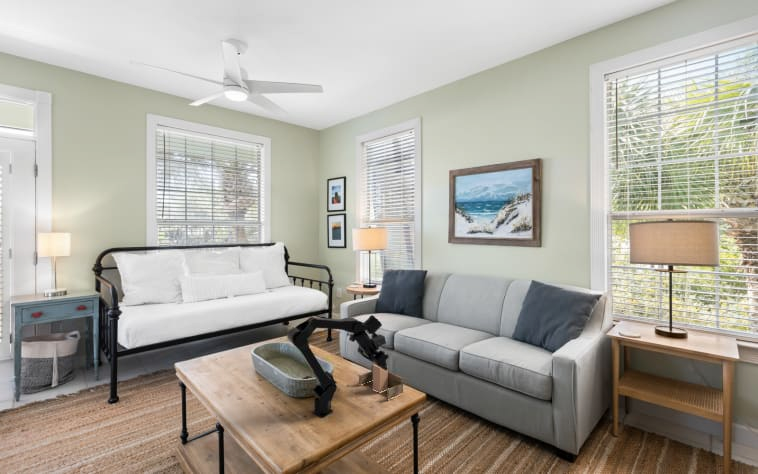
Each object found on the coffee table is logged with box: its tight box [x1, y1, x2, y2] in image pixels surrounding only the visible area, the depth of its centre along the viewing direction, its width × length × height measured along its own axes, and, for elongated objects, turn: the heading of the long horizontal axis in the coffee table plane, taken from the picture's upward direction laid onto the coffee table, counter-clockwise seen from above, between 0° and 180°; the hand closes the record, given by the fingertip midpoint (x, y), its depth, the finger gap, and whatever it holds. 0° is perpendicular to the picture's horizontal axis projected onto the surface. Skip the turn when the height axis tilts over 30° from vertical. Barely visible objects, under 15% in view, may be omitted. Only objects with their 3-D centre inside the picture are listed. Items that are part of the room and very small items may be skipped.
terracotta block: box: [372, 363, 389, 392], centre depth 168 cm, size 5×5×12 cm
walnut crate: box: [358, 364, 404, 400], centre depth 168 cm, size 9×21×8 cm, turn 42°
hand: (381, 366), depth 161 cm, fingers open, 9 cm apart
